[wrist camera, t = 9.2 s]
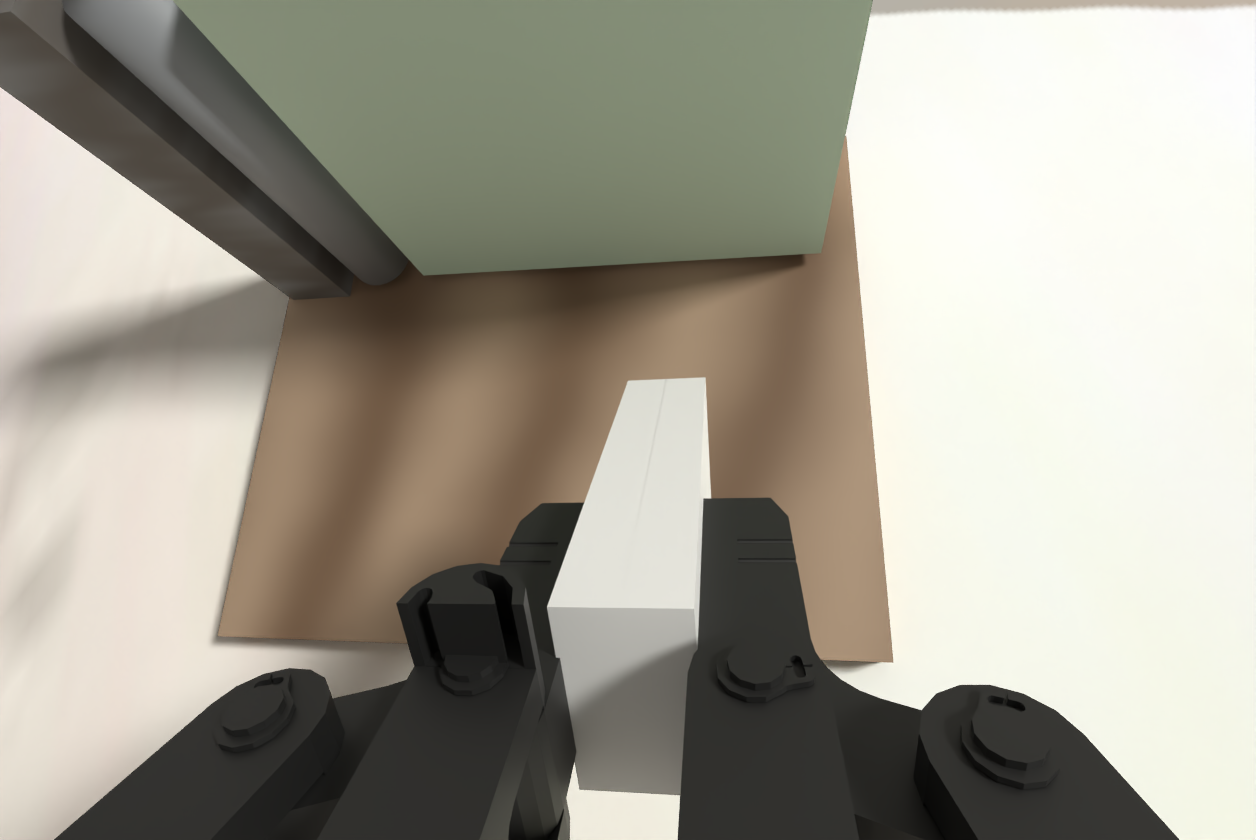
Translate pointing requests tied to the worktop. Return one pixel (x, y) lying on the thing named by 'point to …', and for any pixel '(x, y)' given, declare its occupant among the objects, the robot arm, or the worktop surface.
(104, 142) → the wooden stand
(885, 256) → the worktop surface
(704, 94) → the gate
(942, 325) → the worktop surface
